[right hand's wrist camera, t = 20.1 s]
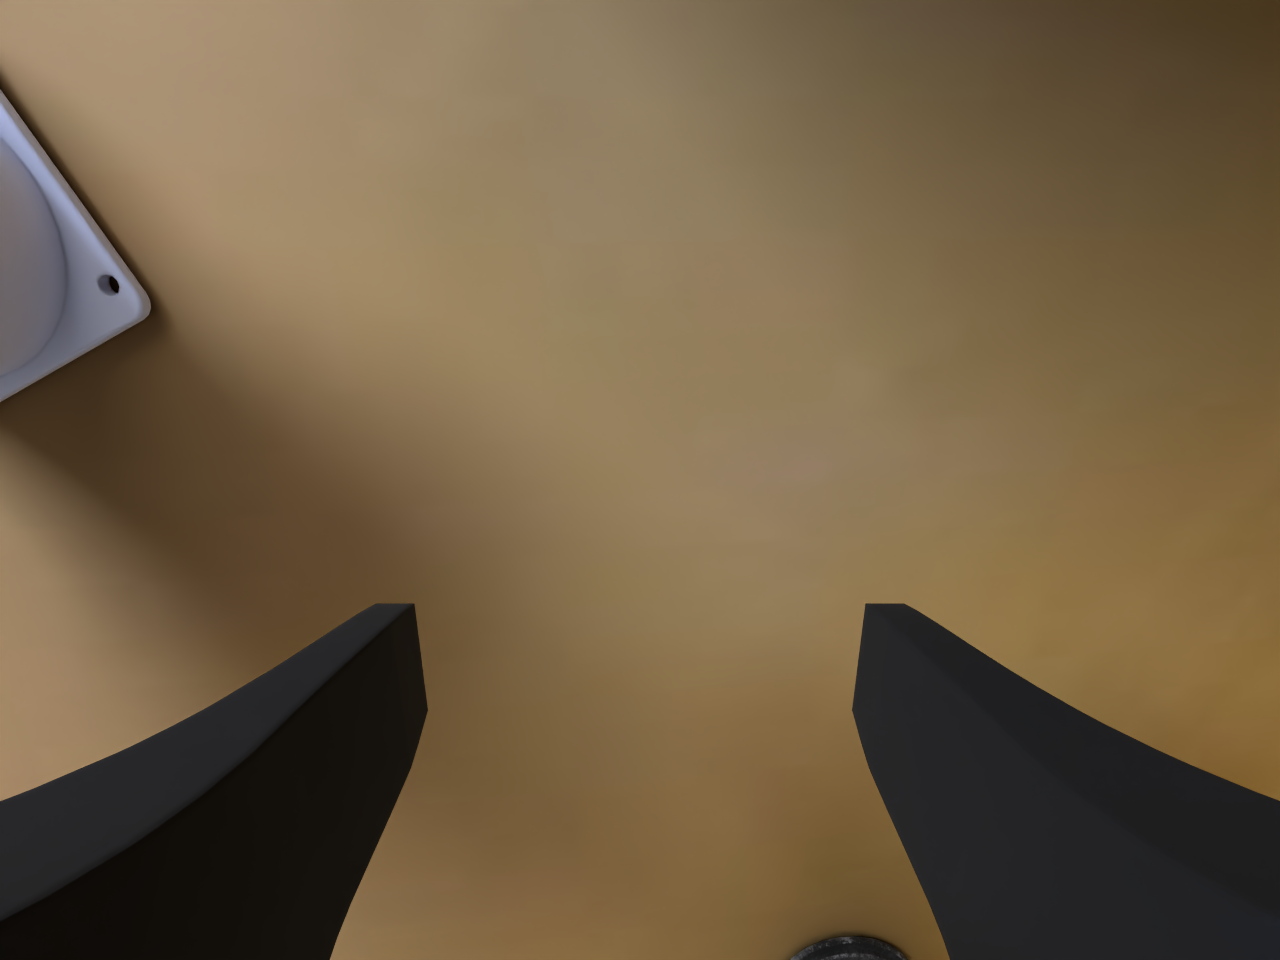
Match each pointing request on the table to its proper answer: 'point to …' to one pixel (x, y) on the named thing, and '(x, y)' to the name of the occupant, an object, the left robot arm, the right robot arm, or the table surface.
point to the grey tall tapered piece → (850, 950)
